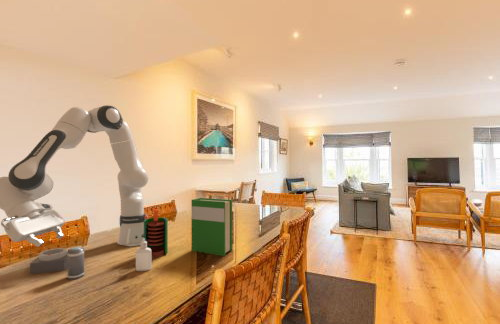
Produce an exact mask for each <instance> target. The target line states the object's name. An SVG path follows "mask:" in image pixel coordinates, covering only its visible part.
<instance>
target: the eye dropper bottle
mask: <svg viewBox="0 0 500 324" xmlns="http://www.w3.org/2000/svg"><path fill="white" fill-rule="evenodd" d="M152 258H153V257H152V254H151V249H150V248H147V242H146V241H145V238H143V240H142V242H140V245H139V248H137V249H136V251H135V271H136V272H145V271H146V272H147V271H150V270H151V269H152V265H153V263H152V260H153V259H152Z"/></svg>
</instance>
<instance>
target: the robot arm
mask: <svg viewBox="0 0 500 324" xmlns="http://www.w3.org/2000/svg"><path fill="white" fill-rule="evenodd" d="M87 132H88V133H91V134H92V133H93V134H94V133H100V132H105V133H106V134H107V136H108V138H109V144H110V146H111V149H112V153H113V157H114V161H116V164H117V165H118V168H119V170H120V171H119V172H118V173H117V182H118V190H119V192H118V193H119V197H120V199H119V200H120V216H119V227H120V228H119V235H118V239H117V245H120V246H126V247H137V246H140V242H142V240H143V238H144V220H145V219H149V216H148V214H147V213H145V212H144V211H145V210H144V209H145V205H144V204H145V201H144V196H143V193H142V188H143V187H145V186H146V185H147V184H148V182H149V174H148V173H147V172H146V170H145V167H144V165H143V163H142V161H141V158H140V156H139V152H138V150H137V148H136V144H135V139H134V135H133V133H132V130H131V128H130V127H129V124H128V122H126V121H125V120H124V119H123V116H122V115H121V113H120V111H119V109H117V107H115V106H113V105H108V104H107V105H102V106H97V107H95V108H92V109H90V110H88V111H87V110H86V109H84V108H82V107H79V106H75V107H74V106H73V107H71V108H69V109H68V110H67V111H66V112H65V113H64V114H63V115H62V116H61V117H60V118H59V119H58V121H57V122H56V124H55V126H54V127H53V128H52V129H51V130H50V131H48V132H47V133H46V134H45V135H44V137H42V139H40V141H39V142H38V143H37V144H36V146H35V147H34V148H33V149H32V150H31V152H29V153H28V155H27V156H26V157H24V158H23V159H22V160H21V161H19V162H17V163H16V164H14V165H13V166H12V167H11V168H10V170H9V172H8V176H1V177H0V210H3V211H4V213H5V215H6V217H5V218H3V219H2V220H1V221H0V225H1V226H2V227H3V229H4V231H5V234H7V236H8V238H10V240H11V241H13V242H14V243H19V242H22V241H26V242H28V243H31V244H33V245H34V246H35V247H37V248H39V247H42V246H43V245H44V243H45V241H43V240H42V239H41V238H40V239H38V238H37V237H38V236H41V235H44V234H47V233H50V232H53V233H55V238H57V240H60V239H62V238H64V236H65V234H64V233H63V231H62V227H63V226H64V225H65V224H66V223H65V219H64V218H63V217H62V216H61V215H60V213H58V211H56V210H55V209H53V206H52V204H49V203H40V202H36V200H38V199H41V198H43V197H45V196H46V195H48V194H49V193H50V192H51V191H52V189H53V188H54V181H53V179H52V178H51V176H49V174H48V173H47V171H46V170H47V165H48V164H49V162H50V161H51V159H52V158H53V157H54V156H55V154H56V153H57V152H58V151H59V150H60V149H63V150H71V149H74V148H77V146H78V145H79V144H80V143H81V142H82V141H83V139H84V138H85V136H86V134H87Z"/></svg>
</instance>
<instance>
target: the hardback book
mask: <svg viewBox="0 0 500 324" xmlns="http://www.w3.org/2000/svg"><path fill="white" fill-rule="evenodd" d="M192 250H193V251H192ZM191 251H192V252H196V251H198V252H197V253H202V252H204V253H203V254H208V253H209V255H214V254H215V256H222V257H225V256H226V254H227V253H228V252H232V251H233V199H228V198H227V199H223V198H209V197H208V198H207V197H198V198H194V199H191Z"/></svg>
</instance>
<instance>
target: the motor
mask: <svg viewBox="0 0 500 324" xmlns="http://www.w3.org/2000/svg"><path fill="white" fill-rule="evenodd" d="M168 220H169V219H168V218H167V217H162V216H161V217H159V208H156V209H155V208H154V209H153V217H150V218H149V217H148V219H145V220H144V238H145V241H146V242H147V248H150V249H151V254H152V258H160V257H162V255H163V256H164V255H165V256H167V255H168V254H167V253H168V251H169V249H168V246H169V245H168V244H169V243H168V235H169V234H168V233H169V232H168V230H169V229H168V226H169V225H168V224H169V221H168ZM166 254H167V255H166ZM159 256H160V257H159Z"/></svg>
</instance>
